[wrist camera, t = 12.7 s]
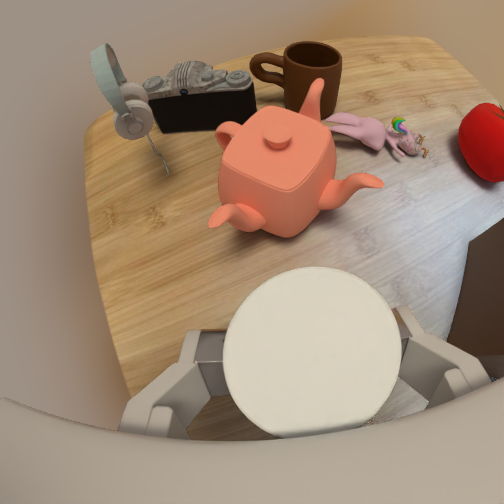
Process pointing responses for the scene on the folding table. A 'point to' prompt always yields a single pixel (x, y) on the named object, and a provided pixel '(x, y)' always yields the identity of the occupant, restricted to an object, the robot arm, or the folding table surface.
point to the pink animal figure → (377, 132)
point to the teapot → (281, 170)
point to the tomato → (484, 141)
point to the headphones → (123, 96)
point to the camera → (200, 98)
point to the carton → (482, 302)
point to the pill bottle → (312, 353)
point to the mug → (303, 73)
